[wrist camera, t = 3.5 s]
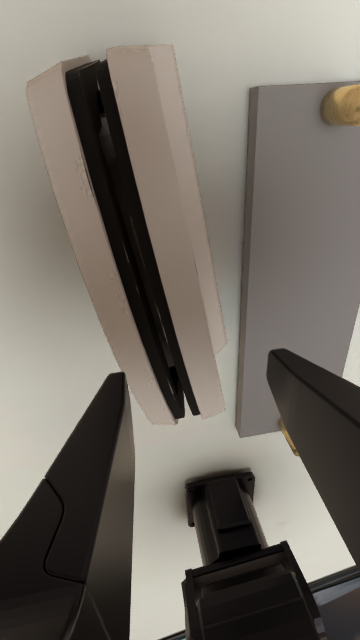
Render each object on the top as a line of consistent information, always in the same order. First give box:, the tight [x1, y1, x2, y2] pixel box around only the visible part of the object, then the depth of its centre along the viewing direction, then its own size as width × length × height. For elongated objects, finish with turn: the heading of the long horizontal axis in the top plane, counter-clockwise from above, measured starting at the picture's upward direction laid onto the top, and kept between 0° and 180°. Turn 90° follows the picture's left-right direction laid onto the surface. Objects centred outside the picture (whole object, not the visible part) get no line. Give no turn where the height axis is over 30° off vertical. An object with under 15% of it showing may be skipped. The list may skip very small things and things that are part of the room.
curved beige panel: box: [26, 45, 227, 425], centre depth 16 cm, size 17×5×10 cm, turn 13°
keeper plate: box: [236, 81, 360, 456], centre depth 22 cm, size 24×8×4 cm, turn 3°
